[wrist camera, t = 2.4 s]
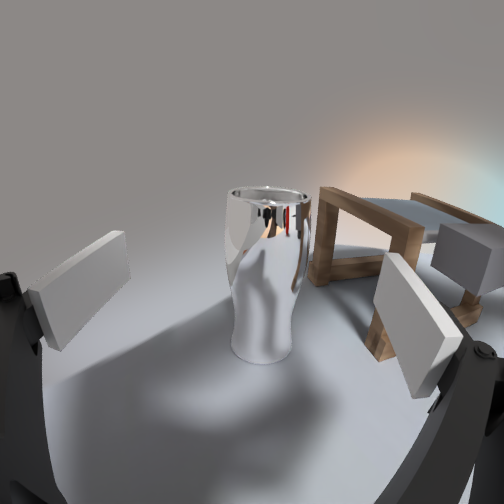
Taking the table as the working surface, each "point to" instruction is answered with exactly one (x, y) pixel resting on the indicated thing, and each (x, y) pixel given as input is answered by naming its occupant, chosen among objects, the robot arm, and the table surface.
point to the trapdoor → (457, 245)
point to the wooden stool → (403, 242)
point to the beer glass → (265, 267)
